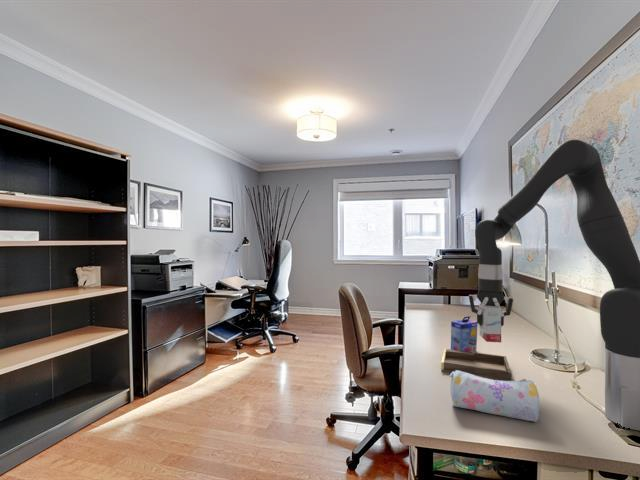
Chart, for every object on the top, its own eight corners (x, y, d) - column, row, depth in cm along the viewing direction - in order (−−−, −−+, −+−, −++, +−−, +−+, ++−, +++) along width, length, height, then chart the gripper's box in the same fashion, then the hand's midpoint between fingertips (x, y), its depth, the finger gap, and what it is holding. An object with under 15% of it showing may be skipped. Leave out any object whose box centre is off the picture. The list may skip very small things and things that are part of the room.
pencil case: (534, 411, 86) (534, 375, 86) (544, 429, 78) (544, 389, 78) (449, 398, 94) (449, 365, 94) (450, 413, 86) (450, 376, 86)
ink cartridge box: (461, 355, 129) (461, 318, 129) (449, 351, 134) (449, 315, 134) (478, 351, 133) (478, 315, 133) (466, 347, 138) (466, 313, 138)
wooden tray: (511, 382, 104) (511, 372, 104) (441, 371, 113) (441, 362, 113) (505, 364, 119) (505, 356, 119) (444, 356, 127) (444, 348, 127)
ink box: (501, 343, 109) (501, 307, 109) (486, 342, 110) (486, 307, 110) (493, 335, 117) (493, 302, 118) (479, 334, 118) (479, 302, 118)
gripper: (467, 277, 113) (467, 326, 113) (515, 279, 107) (515, 331, 107) (467, 275, 120) (467, 321, 120) (512, 277, 114) (512, 325, 114)
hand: (490, 325), depth 114 cm, fingers closed on ink box, 5 cm apart
